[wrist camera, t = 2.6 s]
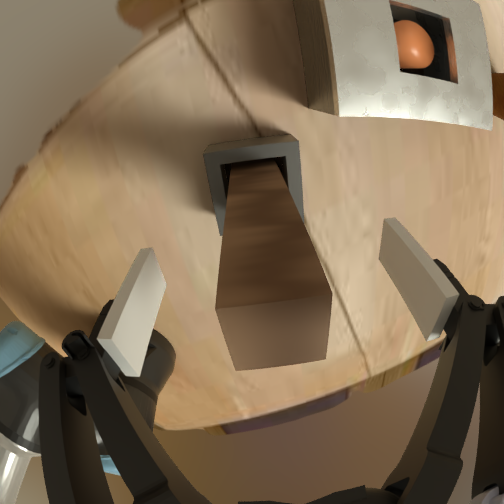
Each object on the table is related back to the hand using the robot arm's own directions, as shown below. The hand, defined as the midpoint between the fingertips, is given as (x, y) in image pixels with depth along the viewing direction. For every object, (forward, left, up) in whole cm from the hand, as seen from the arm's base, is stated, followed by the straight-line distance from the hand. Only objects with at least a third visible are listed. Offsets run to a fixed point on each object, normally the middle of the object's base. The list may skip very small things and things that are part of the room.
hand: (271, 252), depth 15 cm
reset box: (+14, +13, -14) cm, 24 cm away
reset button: (+14, +13, -11) cm, 22 cm away
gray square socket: (0, 0, -14) cm, 14 cm away
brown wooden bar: (0, 0, -14) cm, 14 cm away
